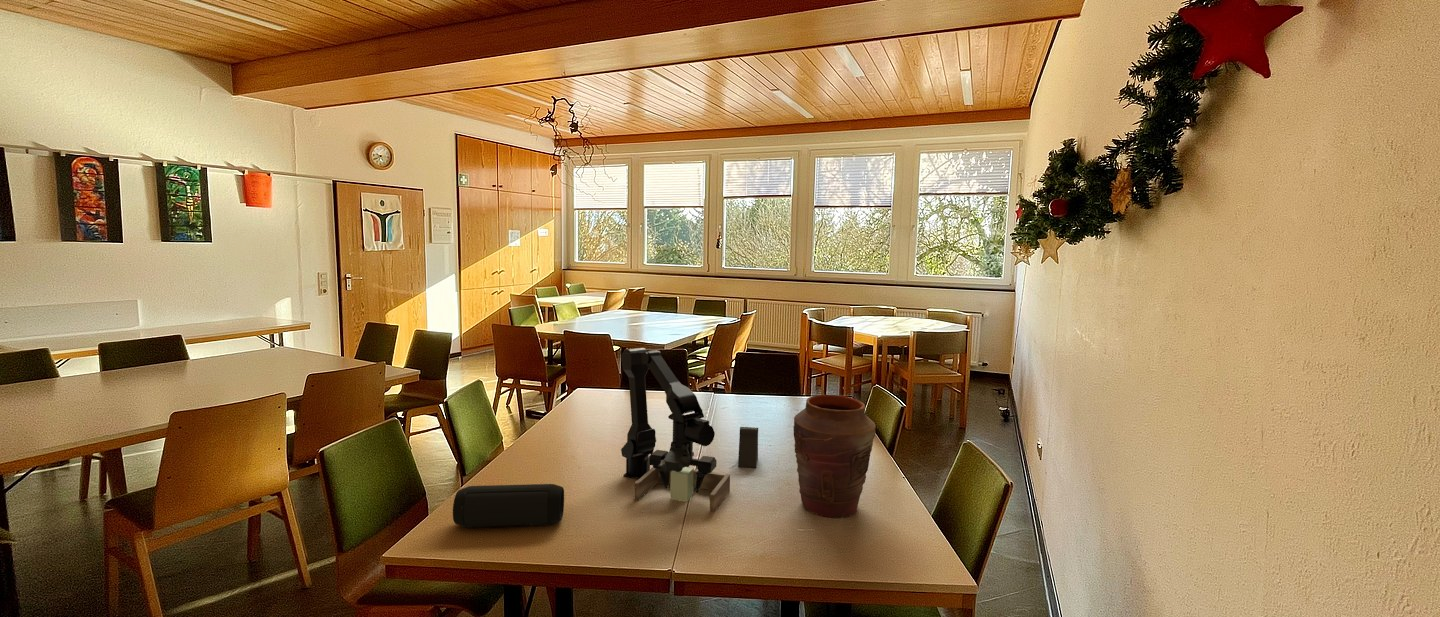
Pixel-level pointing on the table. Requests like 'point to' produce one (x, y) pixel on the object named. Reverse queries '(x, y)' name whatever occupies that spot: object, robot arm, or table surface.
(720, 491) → the wooden u-shaped frame
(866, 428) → the vase
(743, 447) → the door stopper
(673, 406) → the robot arm
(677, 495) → the block
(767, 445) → the table surface
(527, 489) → the portable speaker
